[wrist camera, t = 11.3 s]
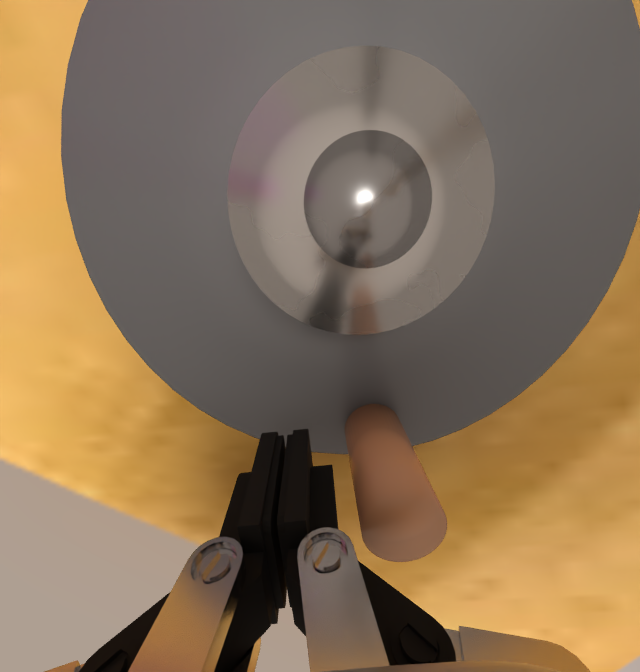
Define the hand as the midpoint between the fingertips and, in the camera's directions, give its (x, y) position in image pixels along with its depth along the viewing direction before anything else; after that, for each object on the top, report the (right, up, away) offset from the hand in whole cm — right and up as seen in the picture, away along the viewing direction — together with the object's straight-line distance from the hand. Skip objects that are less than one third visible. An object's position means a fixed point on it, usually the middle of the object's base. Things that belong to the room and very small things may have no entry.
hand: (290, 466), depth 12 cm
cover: (+2, +9, 0) cm, 9 cm away
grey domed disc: (+2, +10, +2) cm, 10 cm away
